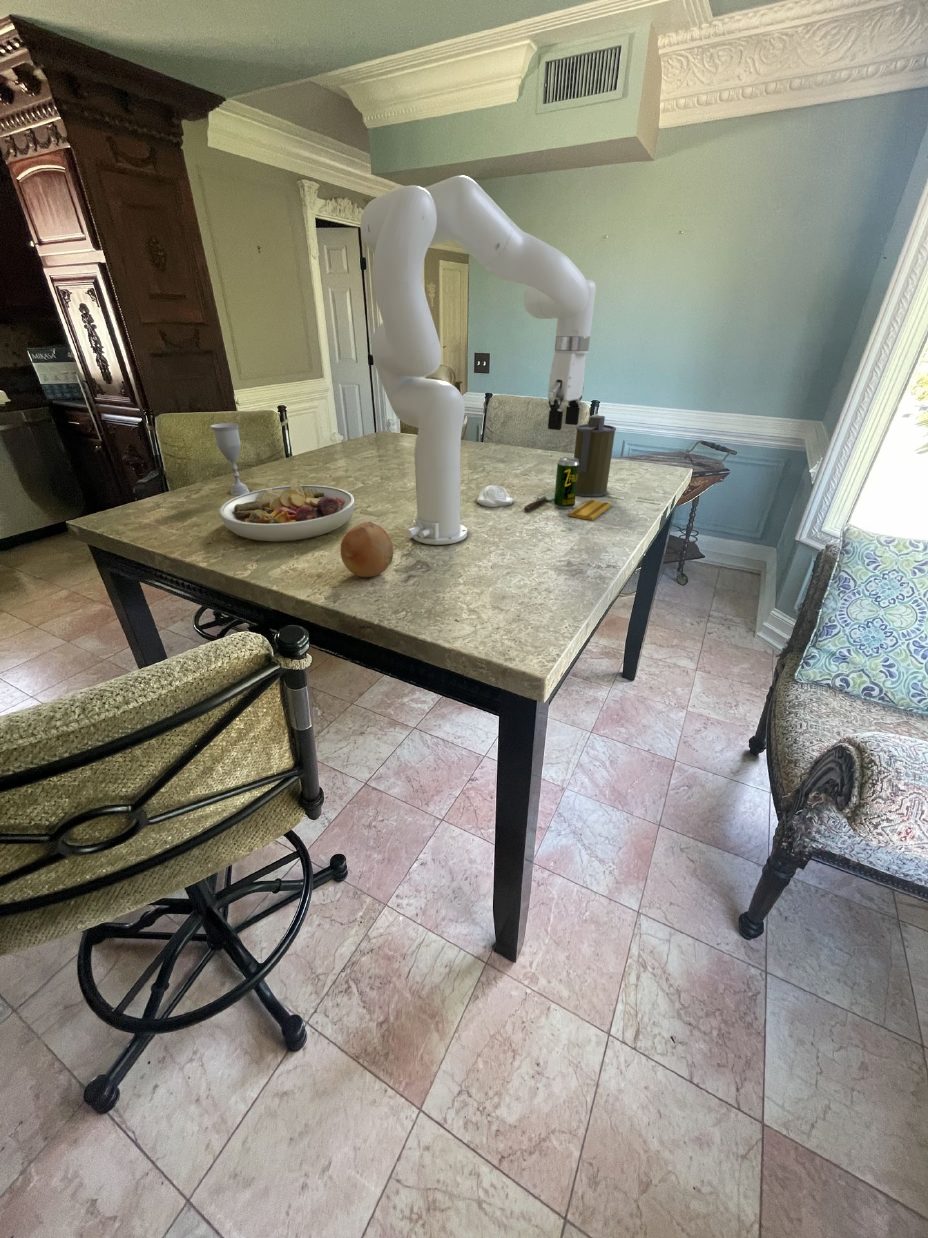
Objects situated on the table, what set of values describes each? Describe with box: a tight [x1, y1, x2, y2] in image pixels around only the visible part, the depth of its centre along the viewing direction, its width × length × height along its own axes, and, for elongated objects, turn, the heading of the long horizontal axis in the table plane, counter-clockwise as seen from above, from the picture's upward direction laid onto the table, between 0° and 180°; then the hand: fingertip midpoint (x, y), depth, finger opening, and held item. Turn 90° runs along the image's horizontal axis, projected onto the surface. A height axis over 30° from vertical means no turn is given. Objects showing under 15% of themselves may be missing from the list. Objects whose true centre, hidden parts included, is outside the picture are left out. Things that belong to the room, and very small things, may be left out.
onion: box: [340, 521, 394, 579], centre depth 92 cm, size 10×10×10 cm
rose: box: [476, 484, 514, 508], centre depth 133 cm, size 10×4×10 cm
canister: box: [573, 415, 617, 498], centre depth 137 cm, size 11×10×20 cm
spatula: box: [523, 491, 555, 512], centre depth 132 cm, size 17×4×1 cm, turn 146°
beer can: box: [553, 456, 579, 510], centre depth 128 cm, size 5×5×12 cm
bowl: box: [219, 484, 356, 542], centre depth 118 cm, size 30×30×8 cm
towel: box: [568, 499, 612, 521], centre depth 127 cm, size 13×6×1 cm, turn 146°
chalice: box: [210, 422, 251, 496], centre depth 137 cm, size 7×7×18 cm
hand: (563, 426), depth 120 cm, fingers open, 9 cm apart
